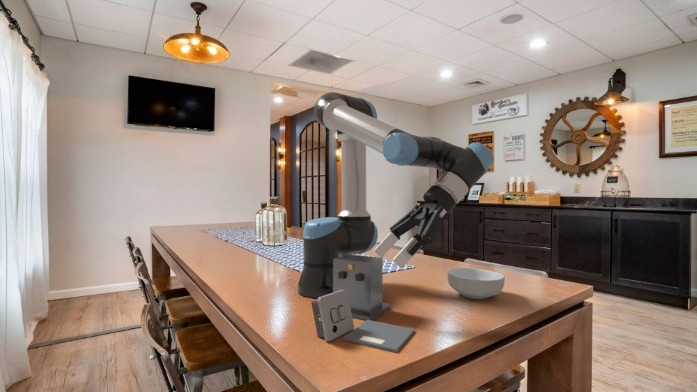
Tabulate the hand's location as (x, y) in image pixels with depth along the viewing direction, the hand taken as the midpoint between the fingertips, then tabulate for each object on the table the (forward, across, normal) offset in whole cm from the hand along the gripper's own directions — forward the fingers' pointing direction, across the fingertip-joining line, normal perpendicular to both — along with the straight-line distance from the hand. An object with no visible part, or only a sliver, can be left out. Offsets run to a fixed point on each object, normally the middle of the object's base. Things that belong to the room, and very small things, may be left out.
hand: (386, 258), depth 81 cm
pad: (+14, -4, -10) cm, 17 cm away
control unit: (+14, +14, -9) cm, 22 cm away
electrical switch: (+21, 0, -2) cm, 21 cm away
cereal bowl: (-14, +20, -37) cm, 44 cm away
